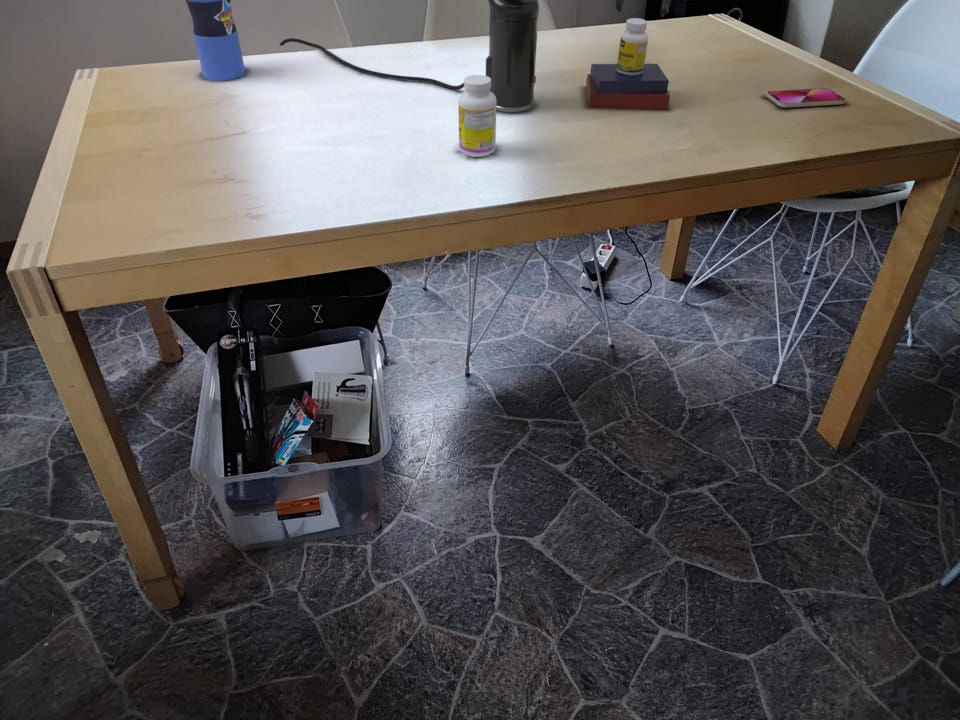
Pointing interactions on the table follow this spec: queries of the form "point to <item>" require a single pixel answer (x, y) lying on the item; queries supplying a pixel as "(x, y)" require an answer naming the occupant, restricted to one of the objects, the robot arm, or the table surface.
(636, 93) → the book stack
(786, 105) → the smartphone
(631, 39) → the supplement bottle
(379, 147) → the table surface
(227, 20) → the water bottle
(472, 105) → the supplement bottle
